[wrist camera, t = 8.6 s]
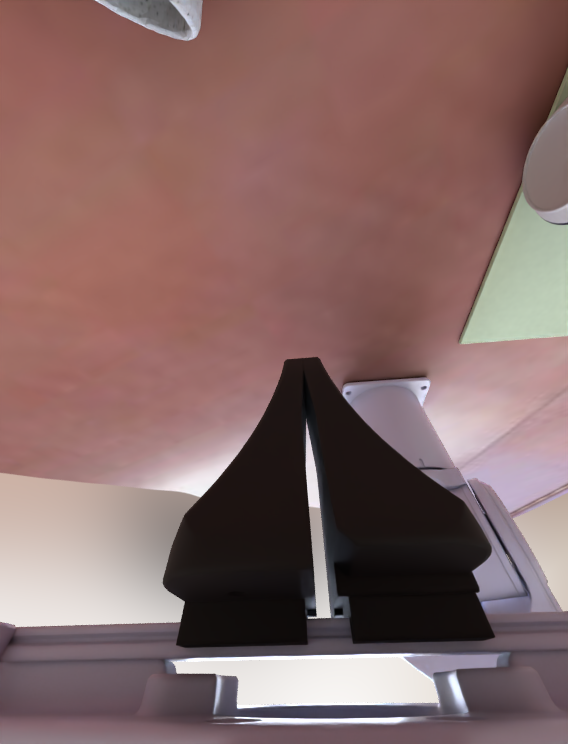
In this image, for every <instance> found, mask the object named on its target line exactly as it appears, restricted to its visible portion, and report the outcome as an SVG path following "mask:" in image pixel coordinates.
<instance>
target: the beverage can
mask: <svg viewBox="0 0 568 744" xmlns="http://www.w3.org/2000/svg"><path fill="white" fill-rule="evenodd" d="M522 186H523V193H524V197H525V199H526V201H527V203H528V204H529V206H530V207H531V208H533V209H534V210H535V211H536V212H537V214H538V215H539V216H540V217H541V218H542V219H544V220H545V221H547V222H549V223H551V224H555V225H568V97H567V98H566V99H565V100H564V102H563V103H562V104H561V105H560V106H559V108H558V109H557V110H556V111H555V112H554V113H553V114H552V115H551V116H550V117H549V118H548V120H547V121H546V122H545V123H544V125H543V126H542V127H541V129H540V130H539V132H538V134H537V135H536V137H535V139H534V141H533V143H532V145H531V147H530V149H529V152H528V155H527V158H526V161H525V165H524V170H523V177H522Z"/></svg>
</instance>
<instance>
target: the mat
mask: <svg viewBox="0 0 568 744" xmlns="http://www.w3.org/2000/svg"><path fill="white" fill-rule="evenodd" d="M567 97H568V68H567V71H566V73H565V76H564V78H563V81H562V83H561V86H560V88H559V91H558V94H557V96H556V99H555V101H554V104H553V106H552V109H551V111H550V114H549V116H548V118H549V117H550V116H551V115H552V114H553V113H554V112H555V111H556V110H557V109H558V108H559V106H560V105H561V104H562V103H563V102H564V100H565V99H566V98H567ZM547 120H548V119H547ZM559 336H568V225H555V224H551V223H549V222H547V221H545V220H544V219H542V218H541V217H540V216H539V215H538V214H537V212H536V211H535V210H534V209H533V208H531V207H530V206H529V204H528V203H527V201H526V199H525V197H524V193H523V186H522V184H521V187H520V189H519V192H518V194H517V197H516V199H515V202H514V204H513V207H512V209H511V212H510V214H509V217H508V219H507V222H506V224H505V227H504V229H503V232H502V234H501V237H500V240H499V242H498V245H497V247H496V250H495V252H494V255H493V257H492V260H491V262H490V265H489V267H488V270H487V272H486V275H485V277H484V280H483V282H482V285H481V287H480V290H479V292H478V295H477V297H476V300H475V302H474V305H473V307H472V310H471V313H470V315H469V318H468V320H467V323H466V325H465V328H464V330H463V333H462V335H461V338H460V340H459V343H460V344H469V343H482V342H495V341H508V340H521V339H533V338H546V337H559Z"/></svg>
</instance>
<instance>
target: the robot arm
mask: <svg viewBox="0 0 568 744" xmlns="http://www.w3.org/2000/svg"><path fill="white" fill-rule="evenodd" d="M430 383H431V381H430V380H429V378H427V377H422V378H409V379H395V380H381V381H367V382H354V383H346V384H345V385H344V386H343V393H342V394H341V392H340V391H339V390H338V388H337V387H336V386H335V384H334V383H333V381H332V380H331V378H330V377H329V375H328V373H327V372H326V370H325V368H324V366H323V364H322V362H321V360H320V359H319V358H318V357H312V358H299V359H287V360H286V361H285V362H284V366H283V370H282V374H281V377H280V380H279V382H278V385H277V387H276V390H275V392H274V395H273V397H272V399H271V401H270V403H269V405H268V407H267V409H266V411H265V413H264V415H263V417H262V418H261V420H260V422H259V424H258V425H257V427H256V428H255V430H254V432H253V433H252V435H251V436H250V438H249V439H248V441H247V442H246V444H245V445H244V446H243V448H242V449H241V451H240V452H239V453H238V455H237V456H236V457H235V459H234V460H233V461H232V462H231V464H230V465H229V466H228V467H227V469H226V470H225V471H224V472H223V473H222V475H221V476H220V477H219V478H218V479H217V481H216V482H215V483H214V484H213V485H212V486H211V487H210V488H209V489H208V491H207V492H206V493H205V494H204V495H203V496H202V497H201V498H200V499H199V500H198V501H197V502H196V503H195V504H194V505H193V506H192V507H191V508H190V509H189V511H188V512H187V513H186V514H185V515H184V518H183V520H182V522H181V524H180V527H179V529H178V532H177V535H176V537H175V540H174V542H173V545H172V548H171V552H170V555H169V559H168V563H167V567H166V570H165V574H164V578H163V585H164V587H165V588H166V589H167V590H168V591H169V592H171V593H172V594H174V595H176V596H177V597H179V598H180V599H182V600H183V601H185V605H184V609H183V614H182V619H181V622H179V623H147V624H146V623H145V624H113V625H111V624H110V625H75V626H41V627H15V625H12V624H8V623H2V622H0V744H568V611H564V612H563V611H562V609H561V608H560V606H559V604H558V602H557V601H556V599H555V597H554V595H553V594H552V592H551V590H550V588H549V586H548V585H547V583H548V581H547V579H546V576H545V574H544V572H543V570H542V568H541V566H540V565H539V563H538V561H537V559H536V557H535V556H534V554H533V552H532V550H531V549H530V547H529V545H528V543H527V542H526V540H525V538H524V537H523V535H522V533H521V532H520V530H519V528H518V527H517V525H516V524H515V522H514V520H513V519H512V517H511V515H510V514H509V512H508V511H507V509H506V508H505V506H504V504H503V503H502V501H501V500H500V498H499V497H498V496H497V494H496V493H495V491H494V490H493V489H492V487H491V486H490V485H488V484H486V483H484V482H480V481H479V480H478V479H476V478H473V479H470V480H468V483H469V485H470V487H471V488H472V490H473V492H474V494H475V498H476V499H477V501H478V503H479V505H480V506H479V505H478V503H477V501H476V499H475V498H474V496H473V494H472V492H471V491H470V489H469V487H468V485H467V484H466V482H465V480H464V478H463V476H462V475H461V473H460V471H459V469H458V468H457V467H455V466H454V464H453V462H452V460H451V458H450V457H449V455H448V453H447V451H446V449H445V447H444V446H443V444H442V442H441V440H440V438H439V437H438V435H437V433H436V431H435V429H434V428H433V426H432V424H431V422H430V420H429V419H428V417H427V415H426V413H425V411H424V410H423V408H422V405H423V403H424V400H425V397H426V394H427V391H428V389H429V386H430ZM422 386H423V387H422ZM347 391H349V392H347ZM306 419H307V425H308V430H309V435H310V440H311V445H312V450H313V455H314V460H315V466H316V472H317V479H318V489H319V498H320V508H321V518H322V527H323V538H324V549H325V559H326V568H327V569H326V570H327V580H328V591H329V602H330V611H331V618H321V619H320V618H318V619H308V617H316V615H317V614H316V600H315V583H314V567H313V554H312V542H311V531H310V530H311V529H310V517H309V505H308V493H307V480H306ZM480 507H481V508H480ZM481 509H482V510H481ZM482 511H483V512H482ZM483 513H484V514H483ZM506 554H507V555H506ZM507 556H508V557H509V559H510V560H509V559H508V557H507ZM510 561H511V562H510ZM511 563H512V564H511ZM353 657H354V658H355V657H401V658H403V659H404V660H405V661H407V662H408V663H409V664H410V665H411V666H413V667H414V668H416V669H417V670H418V671H420V672H421V673H422V674H424V675H425V676H426V677H428V678H429V679H431V680H432V681H433V682H434V684H435V687H436V691H437V694H438V698H439V703H327V704H325V703H324V704H279V705H240V706H237V689H238V679H237V677H236V676H221V675H216V674H177V673H176V668H175V666H174V664H173V663H172V662H170V661H214V660H260V659H261V660H262V659H308V658H353Z"/></svg>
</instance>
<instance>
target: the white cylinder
mask: <svg viewBox="0 0 568 744" xmlns="http://www.w3.org/2000/svg"><path fill="white" fill-rule="evenodd" d="M95 1H97V2H99V3H100V4H102V5H104V6H106V7H107V8H109V9H110V10H112V11H114V12H115V13H117V14H119V15H121V16H123V17H125V18H127V19H129V20H131V21H134V22H136V23H138V24H140V25H142V26H144V27H146V28H147V29H150V30H154V31H156V32H157V33H160V34H164V35H167V36H170V37H172V38H175V39H181V40H186V41H189V40H192V39H194V38H196V37H197V35H198V32H199V30H200V27H201V15H202V3H203V0H95Z"/></svg>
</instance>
